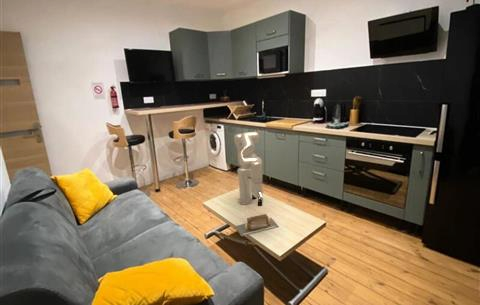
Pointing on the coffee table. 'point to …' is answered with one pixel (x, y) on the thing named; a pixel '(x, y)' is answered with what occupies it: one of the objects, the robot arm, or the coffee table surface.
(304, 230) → the coffee table surface
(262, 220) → the wooden block
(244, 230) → the board
